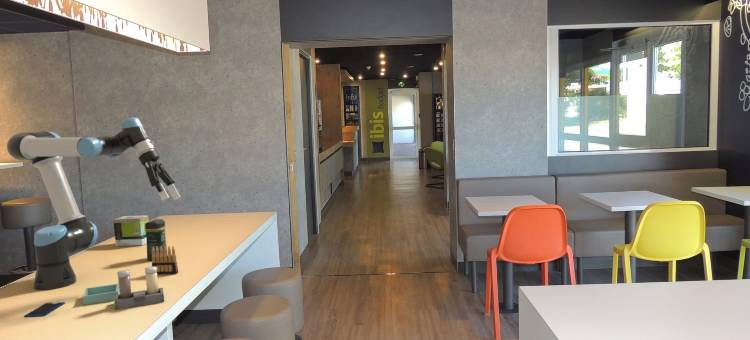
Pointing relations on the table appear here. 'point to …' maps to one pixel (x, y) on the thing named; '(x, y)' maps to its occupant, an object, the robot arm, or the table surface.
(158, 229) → the coffee jar
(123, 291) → the fuse
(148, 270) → the white rounded cylinder
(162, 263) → the ammunition clip
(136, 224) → the tea box
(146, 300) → the block
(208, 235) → the table surface
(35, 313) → the cell phone
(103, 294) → the parts tray
